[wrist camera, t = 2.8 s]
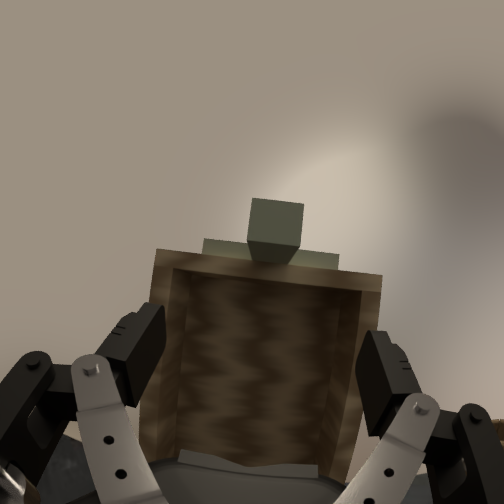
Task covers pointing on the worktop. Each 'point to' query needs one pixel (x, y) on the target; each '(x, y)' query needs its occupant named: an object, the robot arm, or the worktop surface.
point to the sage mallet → (273, 238)
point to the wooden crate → (257, 361)
